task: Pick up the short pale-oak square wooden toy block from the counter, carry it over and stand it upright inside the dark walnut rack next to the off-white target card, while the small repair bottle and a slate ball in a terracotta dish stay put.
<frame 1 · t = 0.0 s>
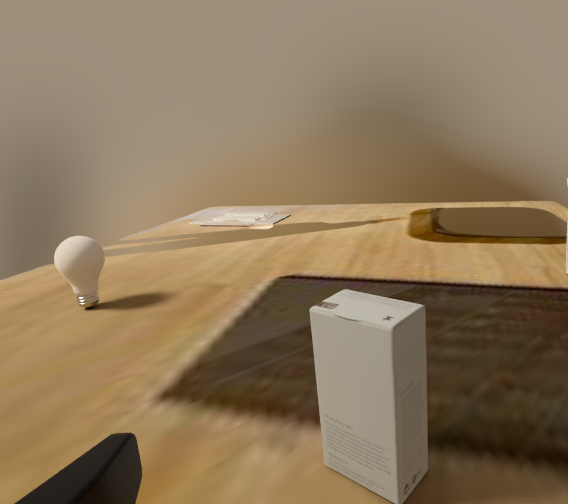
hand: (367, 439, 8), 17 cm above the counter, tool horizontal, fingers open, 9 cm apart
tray: (240, 222, 130), on the counter
skincare box: (372, 471, 29), on the counter
light bulb: (90, 308, 64), on the counter
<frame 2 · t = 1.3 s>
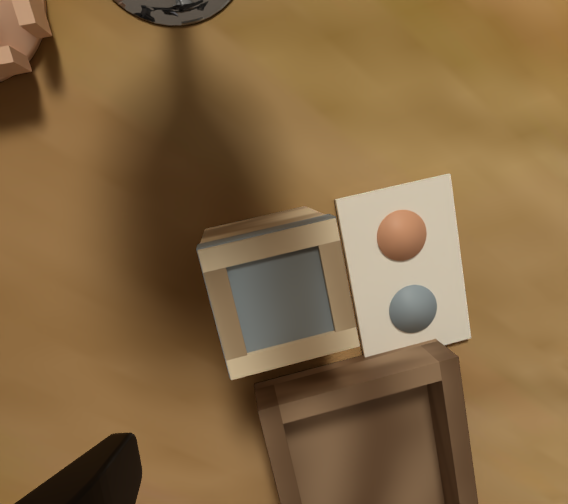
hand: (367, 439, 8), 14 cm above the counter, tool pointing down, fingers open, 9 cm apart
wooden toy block: (266, 265, 21), on the counter
target card: (404, 271, 22), on the counter
rack: (364, 456, 24), on the counter
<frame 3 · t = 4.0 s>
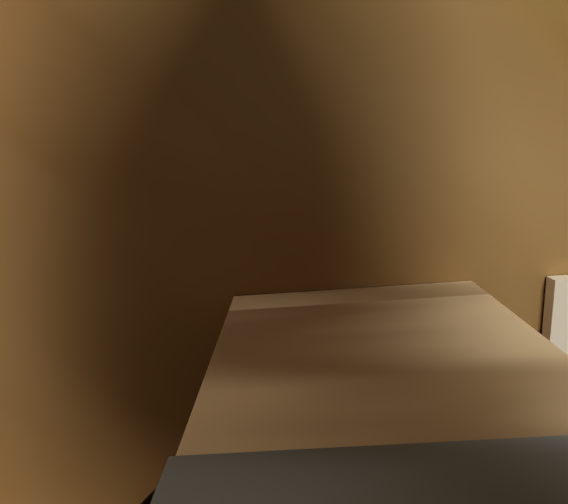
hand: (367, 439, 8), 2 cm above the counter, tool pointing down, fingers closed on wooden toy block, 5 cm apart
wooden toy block: (355, 393, 10), on the counter, touching gripper
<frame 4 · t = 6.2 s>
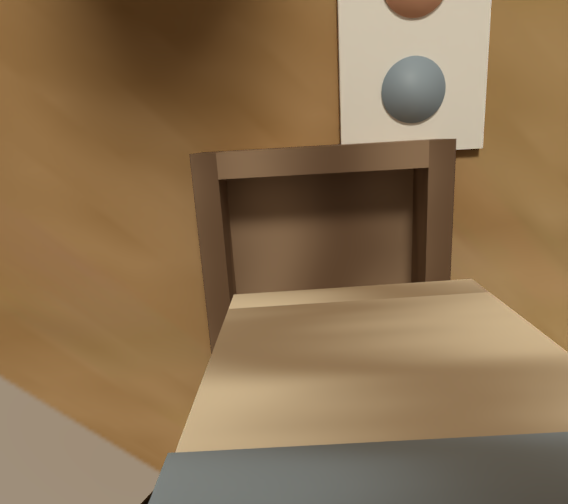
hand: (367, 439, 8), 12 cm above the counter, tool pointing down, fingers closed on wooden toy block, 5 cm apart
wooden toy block: (355, 391, 10), point 11 cm above the counter, touching gripper
target card: (411, 39, 17), on the counter
rack: (322, 277, 20), on the counter
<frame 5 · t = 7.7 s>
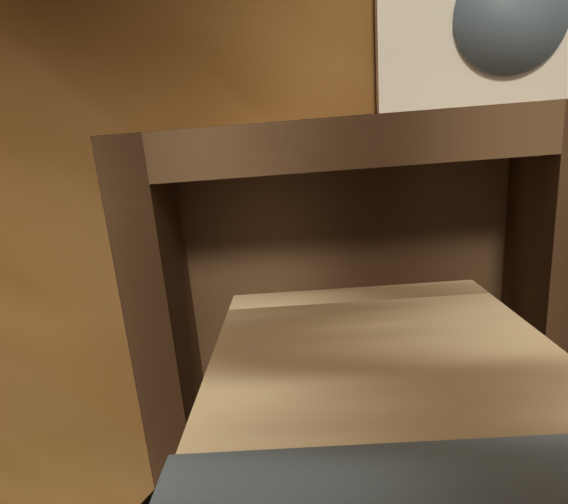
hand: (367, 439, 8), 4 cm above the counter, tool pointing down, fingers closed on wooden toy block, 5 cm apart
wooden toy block: (355, 392, 10), point 3 cm above the counter, touching gripper
rack: (345, 342, 12), on the counter
when the fingers open (4 cm above the counter, at t = 8.6 s): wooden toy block drops 1 cm, resting on rack.
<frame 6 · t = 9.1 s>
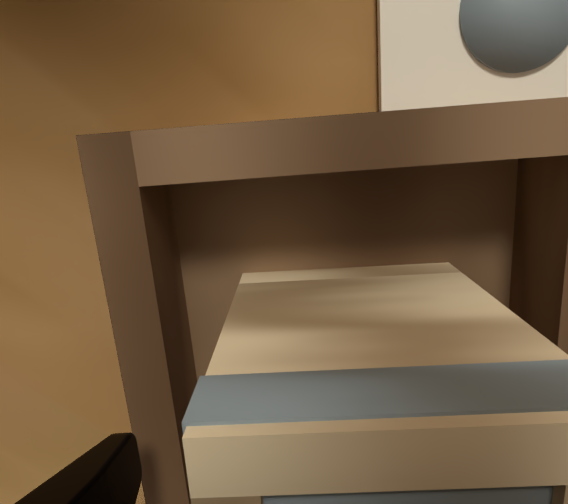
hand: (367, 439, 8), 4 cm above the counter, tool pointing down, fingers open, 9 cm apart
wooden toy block: (347, 360, 11), point 1 cm above the counter, touching rack
rack: (346, 350, 12), on the counter
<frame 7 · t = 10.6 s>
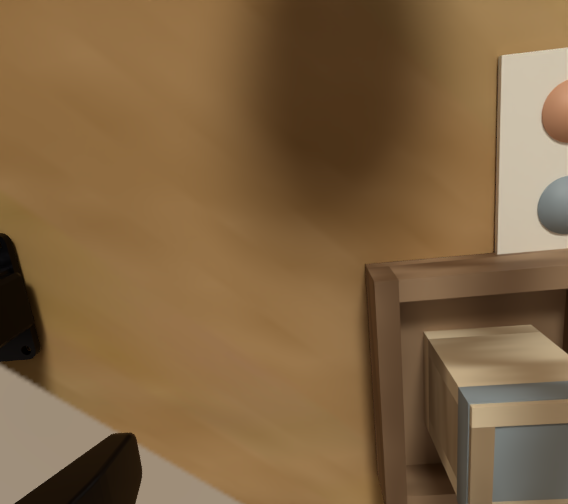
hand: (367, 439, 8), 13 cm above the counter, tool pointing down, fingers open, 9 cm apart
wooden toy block: (475, 374, 21), point 1 cm above the counter, touching rack
target card: (566, 158, 19), on the counter
rack: (471, 369, 21), on the counter
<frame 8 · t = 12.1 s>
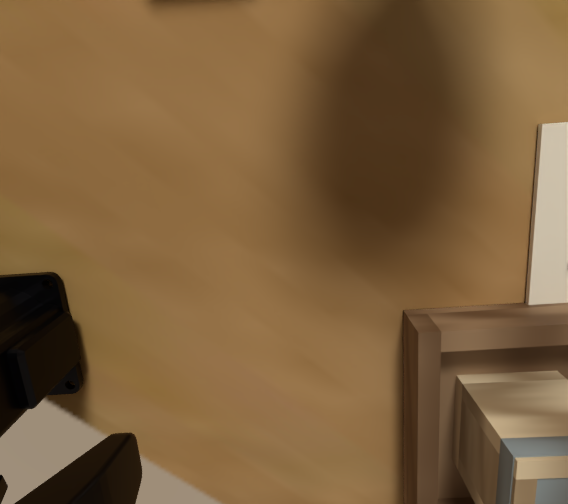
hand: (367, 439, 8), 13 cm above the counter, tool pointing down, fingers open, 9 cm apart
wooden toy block: (502, 416, 22), point 1 cm above the counter, touching rack
rack: (498, 409, 23), on the counter
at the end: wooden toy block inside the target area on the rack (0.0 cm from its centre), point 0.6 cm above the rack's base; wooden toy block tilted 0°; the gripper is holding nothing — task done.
